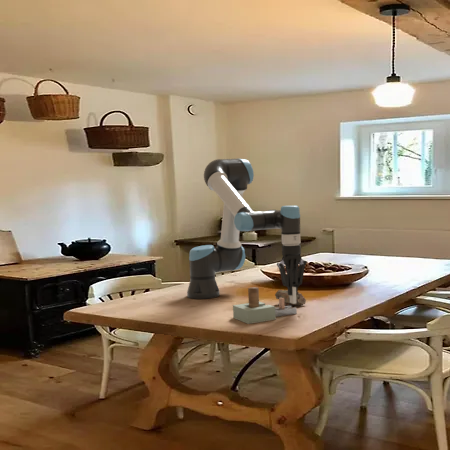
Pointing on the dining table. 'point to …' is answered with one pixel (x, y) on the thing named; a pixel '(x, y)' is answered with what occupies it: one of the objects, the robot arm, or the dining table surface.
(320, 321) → the dining table surface
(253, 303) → the peg
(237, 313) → the block
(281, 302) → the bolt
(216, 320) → the dining table surface
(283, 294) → the rock
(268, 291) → the dining table surface
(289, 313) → the block
